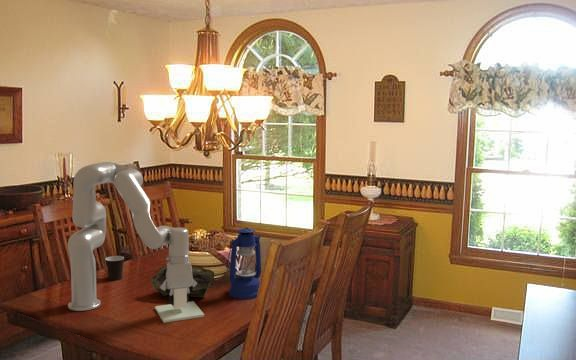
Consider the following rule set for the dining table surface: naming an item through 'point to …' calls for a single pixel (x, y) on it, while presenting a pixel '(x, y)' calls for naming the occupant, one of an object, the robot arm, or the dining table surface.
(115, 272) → the coffee mug
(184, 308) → the sage mat
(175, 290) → the cream block
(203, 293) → the hollow geode rock
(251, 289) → the lantern
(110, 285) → the dining table surface
